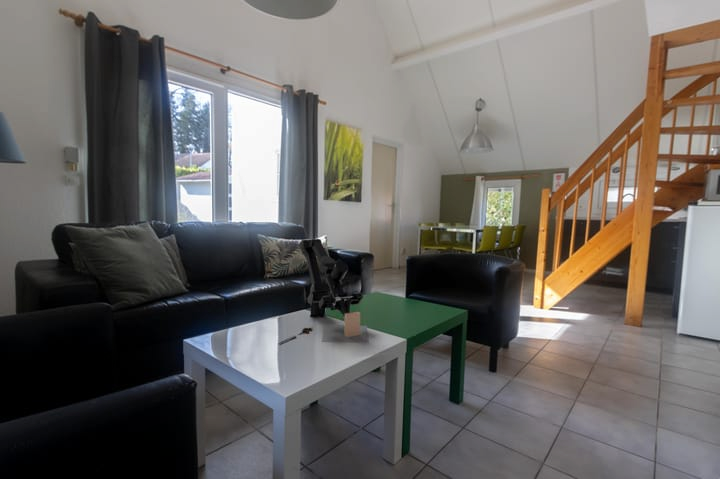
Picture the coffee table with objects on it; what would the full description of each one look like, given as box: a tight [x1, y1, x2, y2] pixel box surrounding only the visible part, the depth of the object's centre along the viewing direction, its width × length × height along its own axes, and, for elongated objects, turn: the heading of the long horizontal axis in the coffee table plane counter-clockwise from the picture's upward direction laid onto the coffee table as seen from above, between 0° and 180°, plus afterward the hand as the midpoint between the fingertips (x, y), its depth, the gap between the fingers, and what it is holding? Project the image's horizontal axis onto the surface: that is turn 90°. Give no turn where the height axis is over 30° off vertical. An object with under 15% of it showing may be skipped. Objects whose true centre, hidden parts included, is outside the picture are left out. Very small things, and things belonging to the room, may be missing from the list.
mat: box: [321, 324, 370, 344], centre depth 142 cm, size 18×20×1 cm
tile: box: [343, 311, 361, 337], centre depth 139 cm, size 2×6×9 cm, turn 121°
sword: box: [277, 327, 313, 346], centre depth 136 cm, size 25×4×2 cm, turn 150°
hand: (347, 318), depth 142 cm, fingers closed
